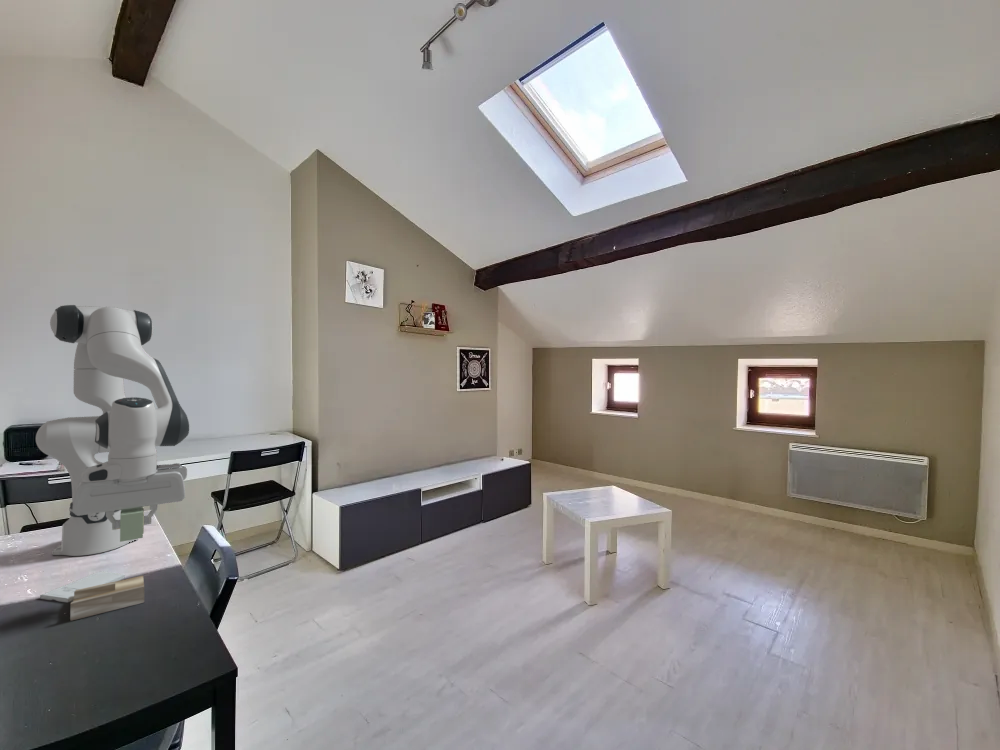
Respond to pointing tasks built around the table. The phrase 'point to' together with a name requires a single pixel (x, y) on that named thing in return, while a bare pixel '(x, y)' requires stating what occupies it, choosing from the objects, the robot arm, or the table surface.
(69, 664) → the table surface
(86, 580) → the external hard drive
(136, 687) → the table surface
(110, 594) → the shelf
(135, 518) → the tea box
